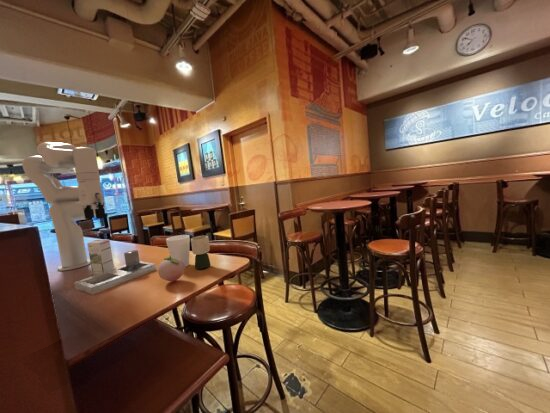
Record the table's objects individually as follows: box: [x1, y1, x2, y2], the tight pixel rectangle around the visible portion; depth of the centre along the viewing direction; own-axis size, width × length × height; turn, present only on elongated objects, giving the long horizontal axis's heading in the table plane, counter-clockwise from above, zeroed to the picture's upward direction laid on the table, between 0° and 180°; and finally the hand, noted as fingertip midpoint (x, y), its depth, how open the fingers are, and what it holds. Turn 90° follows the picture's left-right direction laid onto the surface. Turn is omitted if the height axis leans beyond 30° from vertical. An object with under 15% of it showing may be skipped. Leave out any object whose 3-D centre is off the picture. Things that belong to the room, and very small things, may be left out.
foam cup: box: [165, 234, 191, 268], centre depth 99 cm, size 10×9×13 cm
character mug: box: [190, 235, 211, 270], centre depth 96 cm, size 11×7×13 cm, turn 55°
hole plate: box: [73, 249, 157, 295], centre depth 91 cm, size 13×24×9 cm, turn 152°
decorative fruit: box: [157, 255, 185, 283], centre depth 83 cm, size 9×8×10 cm
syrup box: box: [86, 238, 115, 276], centre depth 98 cm, size 6×6×14 cm
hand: (95, 218), depth 96 cm, fingers open, 9 cm apart
